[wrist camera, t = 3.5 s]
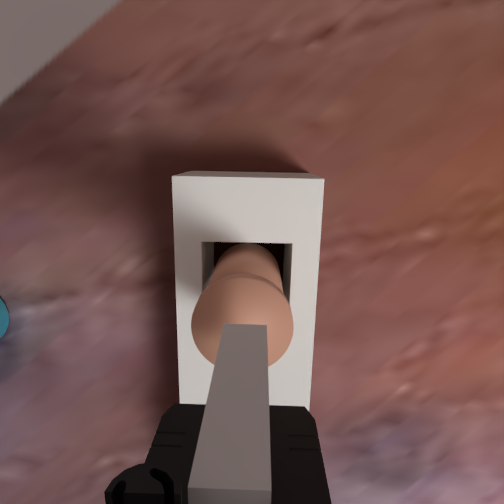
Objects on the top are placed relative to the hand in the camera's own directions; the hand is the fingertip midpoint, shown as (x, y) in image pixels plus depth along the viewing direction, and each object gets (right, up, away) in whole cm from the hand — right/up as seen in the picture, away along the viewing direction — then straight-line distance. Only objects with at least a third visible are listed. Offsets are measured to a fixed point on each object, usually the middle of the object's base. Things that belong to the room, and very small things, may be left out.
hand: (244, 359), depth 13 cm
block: (0, -3, +16) cm, 16 cm away
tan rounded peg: (0, +2, +10) cm, 10 cm away
